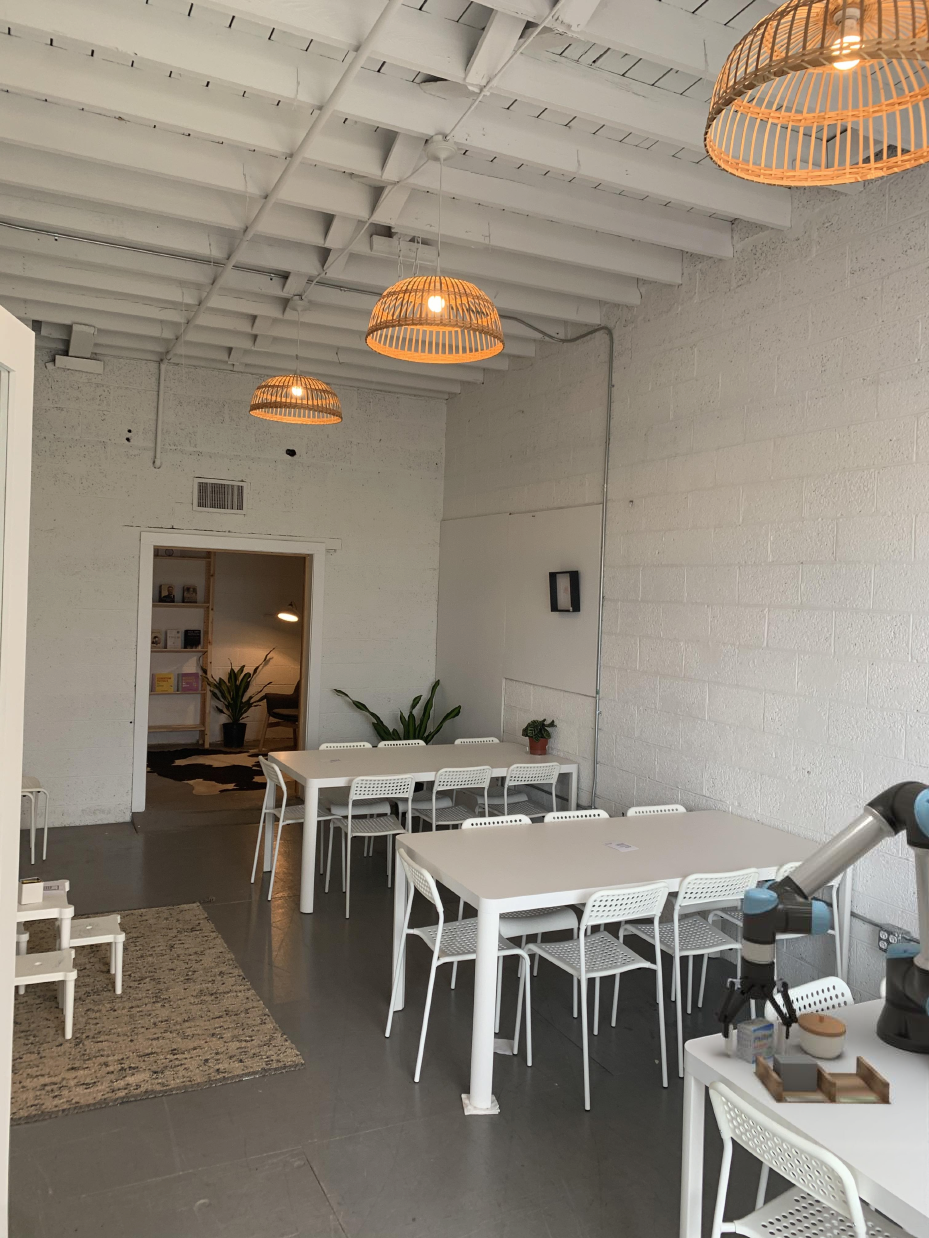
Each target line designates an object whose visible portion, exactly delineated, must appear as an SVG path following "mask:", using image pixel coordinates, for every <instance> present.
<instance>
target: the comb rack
mask: <svg viewBox="0 0 929 1238" xmlns="http://www.w3.org/2000/svg"><path fill="white" fill-rule="evenodd" d="M810 1056H811V1057H812V1056H813V1055H810ZM812 1058H813V1059H814V1061H815V1062H816V1063H817V1092H782V1086H783V1082H782V1081H781V1079H780V1078H779V1077H778V1076H777V1075H776V1073H775V1072H774V1071H773V1067H771V1066H770V1065H769V1064H768V1062H767V1061H766V1059H765V1060H764V1059H763V1057H762V1056H761V1055H756V1063H755V1069H754V1070H755V1071H753V1073H754V1075H755V1076H756V1077H757V1078H758V1080H759V1082H760V1083H761V1084H762V1086H763V1087H764V1088H765V1090H766V1091H767V1092H768V1093H769V1094H770V1096H771V1097H772V1098H773V1100H774V1101H775V1102H776V1103H777V1104H839V1105H840V1104H841V1105H843V1104H844V1105H846V1104H848V1105H849V1104H851V1105H853V1104H855V1105H892V1103H891V1102H890V1082H888V1080H887V1079H885V1077H883V1076H882V1074H880V1072H878V1071H877V1070H876V1069H875V1068H874V1067H873V1066H872V1065H871V1064H870V1063H869V1062H867V1061H866V1060H865V1059H864V1058H863V1056H861V1055H859V1056H858V1055H857V1056H856V1061H855V1062H856V1063H855V1064H856V1065H855V1066H856V1067H855V1072H827V1071H826V1070H825V1069H824V1068H823V1067H822V1066H821V1065H820V1064H819V1063H818V1061H816V1060H815V1058H814V1056H813V1057H812Z"/></svg>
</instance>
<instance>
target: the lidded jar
mask: <svg viewBox="0 0 929 1238" xmlns="http://www.w3.org/2000/svg"><path fill="white" fill-rule="evenodd" d="M797 1018H798V1023H797V1027H796V1029H797V1030H796V1031H797V1038H798V1042H799V1044H800V1046H801V1048H802V1050H804V1051H805V1052H806V1053H807V1054H808V1055H810V1056H813V1057H816V1058H819V1059H825V1060H826V1059H828V1060H831V1059H835V1058H837V1057H838V1056H839V1055H840V1054H841V1053H842V1051H843V1049H844V1046H845V1042H846V1041H845V1040H846V1032H847V1026H846V1024H845V1023H844V1022H843V1021H841V1020H840V1019H838V1018H835V1017H833V1016H830V1015H827V1014H822V1013H816V1012H807V1013H801V1014H799V1015H798V1016H797Z"/></svg>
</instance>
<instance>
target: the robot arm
mask: <svg viewBox="0 0 929 1238" xmlns="http://www.w3.org/2000/svg"><path fill="white" fill-rule="evenodd" d="M903 831H905V836H906V845H907V846H908V847H909V848H910V849H911V850H912V851H913V852H914V864H915V865H914V867H915V868H914V869H915V883H916V885H915V887H916V901H917V915H918V917H917V919H918V932H919V933H918V935H919V943H911V942H910V943H909V942H906V943H905V942H895V943H891V944H889V945H888V947H887V949H886V956H885V991H884V993H885V997H884V999H885V1000H884V1004H883V1007H882V1009H881V1012H880V1015H879V1018H878V1020H877V1021H876V1035H877V1036H878V1038H880V1039H881V1040H882V1041H883V1042H885V1043H887V1044H888V1045H891V1046H893V1047H896V1048H898V1049H901V1050H903V1051H904V1050H905V1051H909V1052H913V1053H918V1054H919V1053H920V1054H929V784H926V783H923V782H920V781H915V780H907V781H906V780H905V781H902V782H898V783H896V784H894V785H892V786H890V787H888V788H887V789H885V790H883V791H882V792H880V793H879V794H878V795H877V796H876V797H873V799H871V800H870V801H869V802H868V803H866V804H865V805H864V806H863V812H862V813H861V814H860V815H859V816H858V817H857V818H855V819H853V821H851V822H850V823H849V824H848V825H847V826H845V827H844V828H843V829H841V830H840V831H839V832H837V834H836V835H834V836H833V837H831V839H830V840H828V841H827V842H826V843H824V844H823V845H821V847H820V848H818V849H816V850H815V852H814V853H812V854H811V855H810V856H809V857H807V858H806V859H805V860H803V861H802V862H801V863H800V864H799V865H797V866H796V867H795V868H794V869H792V870H791V871H790V872H789V873H788V874H786V876H784V877H783V878H782V879H780V880H770V881H767V882H766V883H764V885H763V886H762V887H756V888H755V887H754V888H751V887H750V888H749V889H746V890H745V892H744V893H743V900H742V901H743V902H742V907H741V911H742V921H741V922H742V926H741V927H742V930H741V953H740V954H741V956H740V976H739V979H735V978H731V977H727V978H726V983H725V989H724V990H723V993H722V996H721V997H720V1000H719V1002H718V1005H717V1007H716V1009H715V1011H714V1014H713V1017H714V1019H715V1020H716V1021H717V1022H718V1023H721V1036H722V1037H723V1038H724V1050H725V1051H726V1052H727V1054H728V1055H733V1041H734V1039H733V1038H734V1025H733V1024H732V1022H733V1021H734V1019H735V1018H736V1016H737V1015H738V1013H739V1012H740V1011H741V1010H742V1008H743V1007H744V1005H745V1004H746V1003H748V1002H749V1001H750V1000H753V1001H754V1000H755V1001H756V1000H760V1001H765V1000H766V999H767V1000H768V1003H770V1006H772V1009H774V1012H775V1013H776V1014H777V1016H778V1017H779V1018H780V1020H781V1021H778V1022H777V1041H776V1044H777V1045H776V1050H777V1051H778V1053H779V1054H785V1055H786V1040H789V1039H790V1031H791V1030H790V1028H792V1026H793V1024H795V1025H796V1024H797V1023H798V1018H797V1017H798V1016H797V1013H796V1010H795V1007H794V1004H793V1002H792V999H791V996H790V993H789V983H788V982H787V981H786V980H785V979H784V978H783V977H782V978H781V977H780V978H779V979H777V980H775V977H776V976H775V974H776V961H775V960H776V951H777V950H776V947H777V946H776V945H777V934H784V935H785V934H786V935H804V936H805V935H806V936H822V935H826V934H828V933H829V931H830V928H831V912H830V910H829V908H828V906H827V904H826V903H825V902H823V901H821V900H820V901H819V900H815V899H812V898H813V897H814V896H815V895H817V894H818V893H819V892H821V891H822V890H823V889H824V888H826V887H827V886H828V885H829V884H831V883H832V882H833V881H834V880H836V879H837V878H839V876H840V875H842V874H843V873H845V871H847V869H849V868H851V866H852V865H854V864H855V863H857V862H858V861H859V860H860V859H862V858H863V857H864V856H866V854H868V853H869V852H870V851H871V850H873V849H874V848H875V847H876V846H877V845H879V844H880V843H881V842H883V841H884V840H885V839H886V838H895V837H896V836H897V835H899V834H900V833H901V832H903ZM738 987H740V990H739V991H738V993H737V995H736V997H735V998H734V1000H733V1001H732V999H733V997H734V995H735V991H736V990H737V989H738ZM775 989H778V991H779V993H780V996H781V999H782V1002H783V1004H784V1007H785V1010H786V1013H787V1015H786V1014H785V1012H784V1011H783V1009H782V1008H781V1006H780V1005H779V1003H778V1002H777V1000H776V998H775V996H774V995H773V993H772V992H774V990H775ZM797 1025H798V1024H797Z"/></svg>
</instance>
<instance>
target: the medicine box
mask: <svg viewBox="0 0 929 1238" xmlns="http://www.w3.org/2000/svg"><path fill="white" fill-rule="evenodd" d="M774 1040H775V1023H773V1022H772V1021H770V1020H768V1019H765V1018H763V1017H760V1016H759V1017H755V1018H752V1019H749V1020H745V1021H742V1022H739V1023H737V1025H736V1055H735V1056H736V1057H737V1058H739V1059H741V1060H743V1061H745V1062H747V1063H748V1064H751V1065H753V1064H756V1055H761V1056H762V1057H763V1059H764V1060H765V1061H766V1060H767V1059H770V1058H773V1054H774Z"/></svg>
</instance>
